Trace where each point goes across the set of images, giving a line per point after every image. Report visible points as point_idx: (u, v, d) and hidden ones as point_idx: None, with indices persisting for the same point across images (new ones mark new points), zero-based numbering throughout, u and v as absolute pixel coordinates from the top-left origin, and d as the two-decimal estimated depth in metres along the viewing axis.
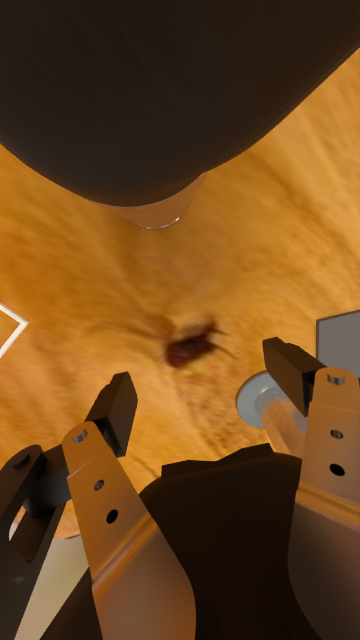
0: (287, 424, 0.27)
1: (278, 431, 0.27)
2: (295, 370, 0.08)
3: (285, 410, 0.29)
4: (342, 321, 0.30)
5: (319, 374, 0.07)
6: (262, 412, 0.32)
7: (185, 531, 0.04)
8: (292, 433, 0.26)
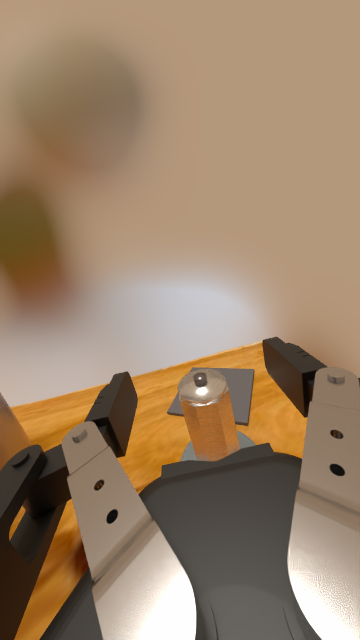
0: None
1: (191, 439, 0.26)
2: (294, 370, 0.08)
3: None
4: (177, 400, 0.45)
5: (318, 374, 0.07)
6: None
7: (185, 531, 0.04)
8: None
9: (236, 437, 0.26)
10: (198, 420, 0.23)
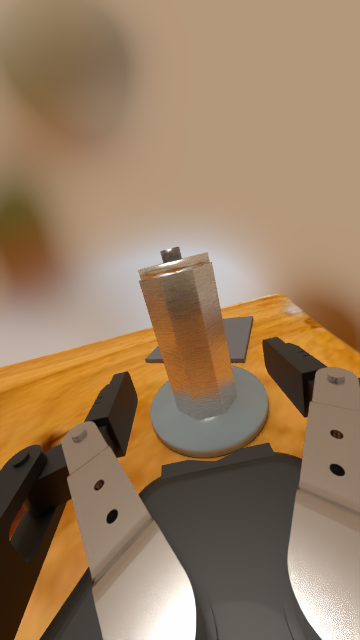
0: None
1: (160, 350, 0.18)
2: (294, 370, 0.08)
3: None
4: (158, 349, 0.36)
5: (318, 374, 0.07)
6: (178, 391, 0.19)
7: (185, 531, 0.04)
8: None
9: (225, 346, 0.18)
10: (165, 302, 0.15)
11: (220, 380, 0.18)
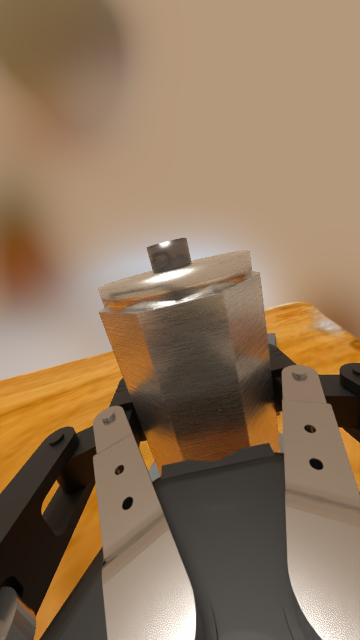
0: None
1: (148, 440, 0.09)
2: None
3: None
4: None
5: (284, 372, 0.08)
6: None
7: (185, 531, 0.04)
8: None
9: (276, 436, 0.09)
10: (154, 370, 0.06)
11: None
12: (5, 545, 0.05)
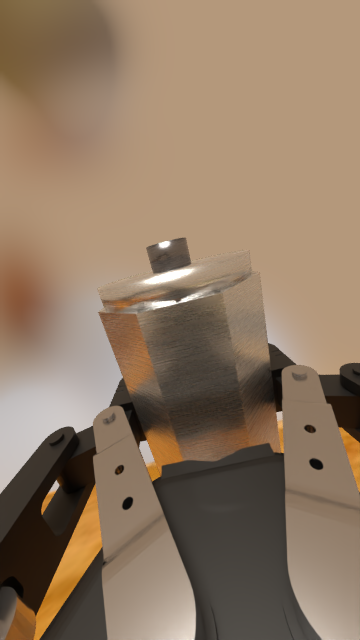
0: None
1: (148, 440, 0.09)
2: None
3: None
4: None
5: (284, 372, 0.08)
6: None
7: (185, 531, 0.04)
8: None
9: (276, 435, 0.09)
10: (154, 370, 0.06)
11: None
12: (5, 545, 0.05)
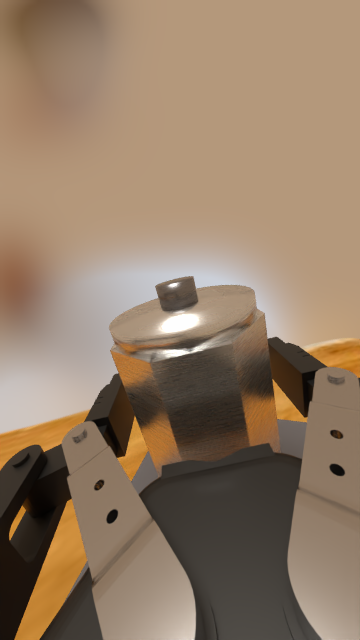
0: None
1: (156, 467, 0.10)
2: (295, 370, 0.08)
3: None
4: None
5: (318, 374, 0.07)
6: None
7: (185, 531, 0.04)
8: None
9: None
10: (166, 412, 0.07)
11: None
12: None
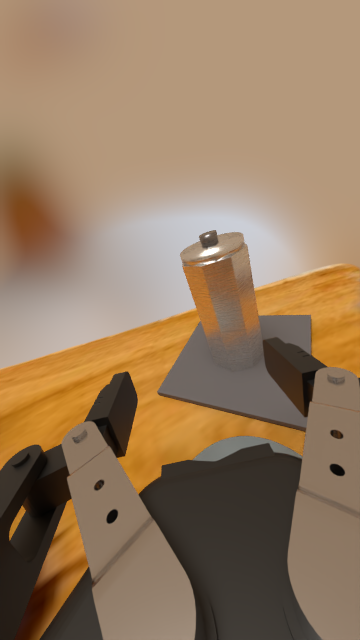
0: None
1: (201, 320, 0.22)
2: (294, 370, 0.08)
3: None
4: (175, 371, 0.27)
5: (318, 374, 0.07)
6: (216, 351, 0.24)
7: (185, 531, 0.04)
8: None
9: (256, 315, 0.21)
10: (207, 286, 0.18)
11: (251, 343, 0.22)
12: None
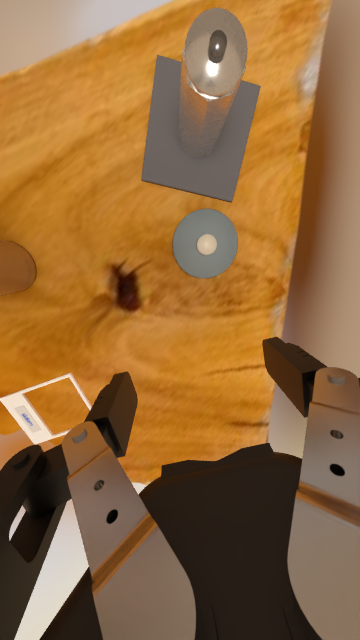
0: (181, 110, 0.26)
1: (184, 123, 0.27)
2: (295, 370, 0.08)
3: (179, 112, 0.28)
4: (149, 157, 0.33)
5: (319, 374, 0.07)
6: (188, 145, 0.31)
7: (185, 531, 0.04)
8: (182, 104, 0.25)
9: (225, 118, 0.27)
10: (205, 113, 0.23)
11: (215, 141, 0.30)
12: None
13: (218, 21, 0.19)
